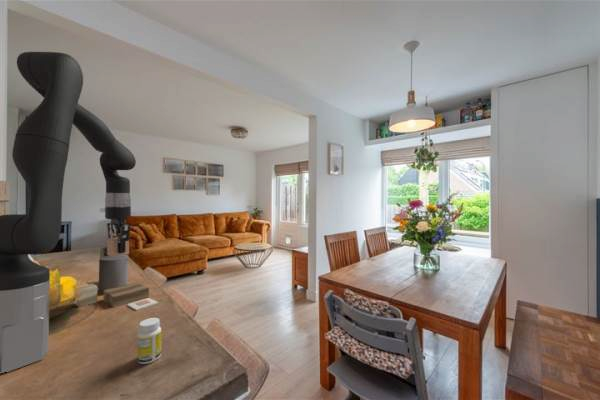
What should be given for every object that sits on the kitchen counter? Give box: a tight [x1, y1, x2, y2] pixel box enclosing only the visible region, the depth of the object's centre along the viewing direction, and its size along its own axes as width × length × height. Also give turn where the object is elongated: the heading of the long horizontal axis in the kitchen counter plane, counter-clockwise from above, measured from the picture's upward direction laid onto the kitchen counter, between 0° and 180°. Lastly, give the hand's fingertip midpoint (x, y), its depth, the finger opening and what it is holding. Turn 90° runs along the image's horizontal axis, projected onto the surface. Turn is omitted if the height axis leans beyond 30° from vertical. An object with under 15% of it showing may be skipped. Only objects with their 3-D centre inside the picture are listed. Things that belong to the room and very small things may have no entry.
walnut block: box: [102, 282, 150, 308], centre depth 91 cm, size 11×11×4 cm
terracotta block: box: [106, 237, 130, 257], centre depth 89 cm, size 5×5×6 cm
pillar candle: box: [98, 254, 129, 295], centre depth 101 cm, size 10×10×15 cm
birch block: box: [75, 283, 98, 308], centre depth 87 cm, size 5×5×6 cm
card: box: [126, 297, 159, 311], centre depth 86 cm, size 7×7×1 cm
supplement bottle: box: [136, 317, 162, 365], centre depth 56 cm, size 5×5×8 cm
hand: (118, 251), depth 89 cm, fingers closed on terracotta block, 5 cm apart
